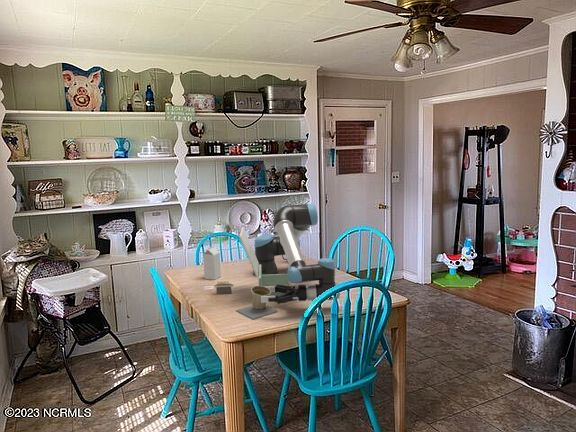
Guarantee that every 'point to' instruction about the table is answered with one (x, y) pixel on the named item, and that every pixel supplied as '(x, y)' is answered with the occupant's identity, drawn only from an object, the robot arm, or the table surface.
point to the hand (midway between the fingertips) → (261, 294)
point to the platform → (223, 288)
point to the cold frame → (272, 280)
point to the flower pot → (259, 296)
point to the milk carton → (211, 263)
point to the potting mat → (256, 312)
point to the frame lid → (249, 251)
